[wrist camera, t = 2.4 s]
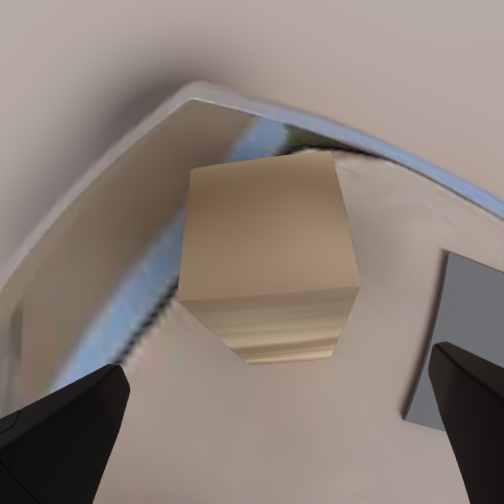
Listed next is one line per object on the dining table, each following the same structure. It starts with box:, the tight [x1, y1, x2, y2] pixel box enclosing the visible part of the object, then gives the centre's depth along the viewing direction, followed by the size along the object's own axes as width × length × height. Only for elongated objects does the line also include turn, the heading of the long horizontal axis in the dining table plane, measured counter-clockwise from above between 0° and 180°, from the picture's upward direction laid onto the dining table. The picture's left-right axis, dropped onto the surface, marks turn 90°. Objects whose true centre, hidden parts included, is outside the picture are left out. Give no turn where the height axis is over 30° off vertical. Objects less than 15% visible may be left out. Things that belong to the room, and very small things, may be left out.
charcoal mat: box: [403, 252, 504, 431], centre depth 15 cm, size 12×12×1 cm
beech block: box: [177, 151, 360, 364], centre depth 15 cm, size 5×5×12 cm
